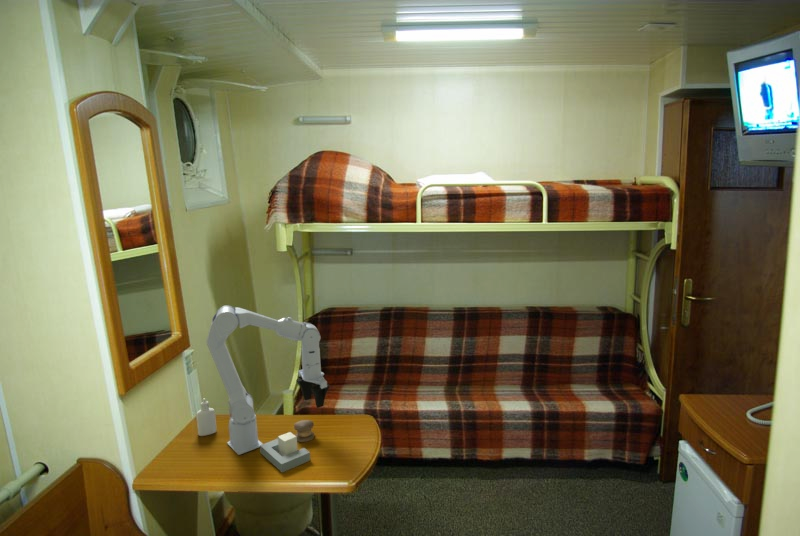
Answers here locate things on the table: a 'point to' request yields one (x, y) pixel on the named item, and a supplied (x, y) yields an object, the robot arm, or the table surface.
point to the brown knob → (304, 430)
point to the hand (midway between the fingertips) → (313, 402)
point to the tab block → (287, 443)
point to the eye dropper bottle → (206, 419)
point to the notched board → (286, 461)
